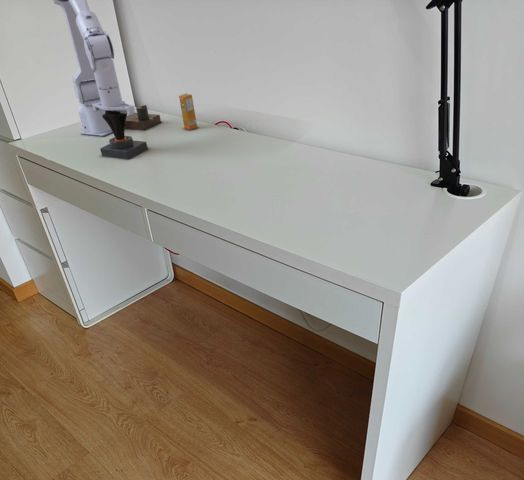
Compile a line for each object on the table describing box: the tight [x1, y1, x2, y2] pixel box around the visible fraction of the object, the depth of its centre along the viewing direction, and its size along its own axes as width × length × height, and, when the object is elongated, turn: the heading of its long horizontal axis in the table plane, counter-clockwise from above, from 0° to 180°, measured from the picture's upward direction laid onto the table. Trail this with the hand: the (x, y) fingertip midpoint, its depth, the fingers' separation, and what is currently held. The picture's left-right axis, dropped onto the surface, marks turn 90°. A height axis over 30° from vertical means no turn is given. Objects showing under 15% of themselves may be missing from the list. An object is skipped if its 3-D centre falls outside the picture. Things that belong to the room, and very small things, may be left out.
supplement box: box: [178, 92, 198, 131], centre depth 159 cm, size 3×3×10 cm
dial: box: [135, 104, 150, 120], centre depth 164 cm, size 4×4×4 cm
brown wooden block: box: [125, 112, 162, 131], centre depth 168 cm, size 12×9×3 cm
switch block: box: [99, 135, 149, 160], centre depth 146 cm, size 10×9×4 cm
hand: (120, 138), depth 144 cm, fingers closed, pressing on button
